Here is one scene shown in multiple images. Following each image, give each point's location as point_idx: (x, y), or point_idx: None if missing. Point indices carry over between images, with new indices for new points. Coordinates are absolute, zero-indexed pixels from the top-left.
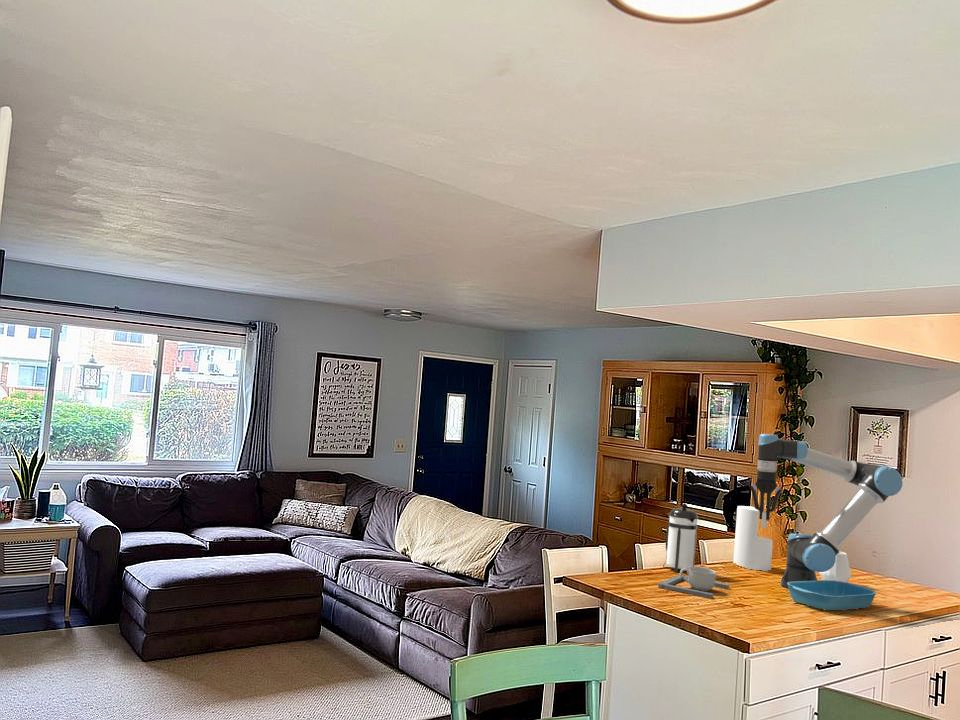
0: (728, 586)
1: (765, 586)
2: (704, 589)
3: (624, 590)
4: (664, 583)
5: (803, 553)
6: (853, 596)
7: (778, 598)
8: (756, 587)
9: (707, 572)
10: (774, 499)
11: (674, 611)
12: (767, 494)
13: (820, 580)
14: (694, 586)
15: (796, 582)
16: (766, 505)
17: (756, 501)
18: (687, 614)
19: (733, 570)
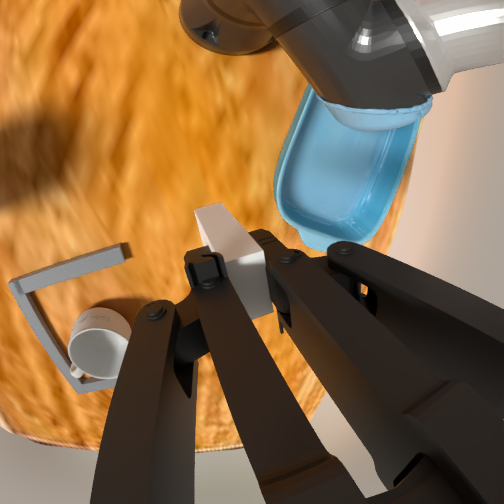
0: (122, 254)
1: (159, 92)
2: (123, 339)
3: (91, 434)
4: (77, 384)
5: (339, 109)
6: (401, 176)
7: (246, 210)
8: (150, 138)
9: (93, 324)
10: (437, 374)
11: (198, 443)
12: (393, 476)
13: None
14: (107, 351)
15: (288, 159)
16: (307, 359)
17: (189, 434)
18: (214, 439)
19: (23, 2)
